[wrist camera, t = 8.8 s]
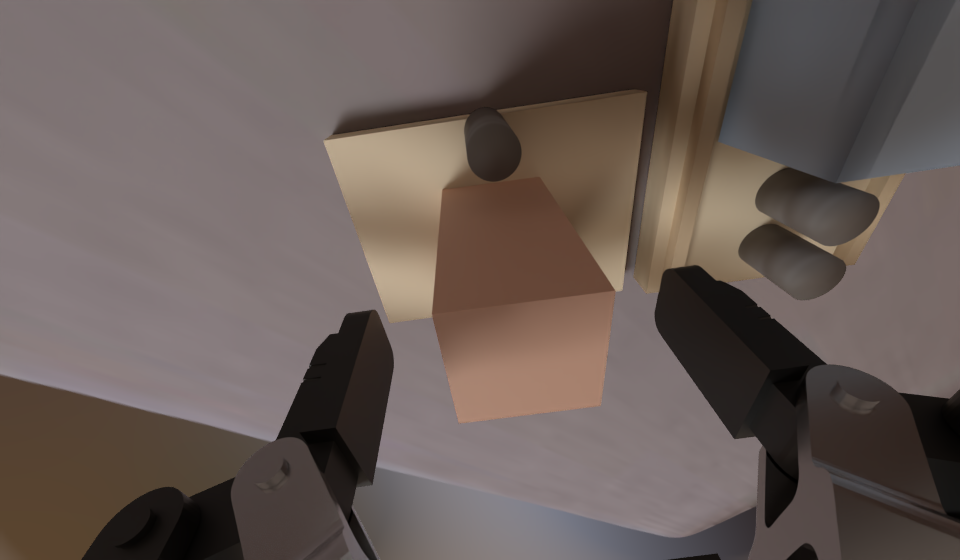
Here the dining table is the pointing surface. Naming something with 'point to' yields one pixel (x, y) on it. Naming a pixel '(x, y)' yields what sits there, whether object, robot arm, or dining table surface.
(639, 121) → the pin seat
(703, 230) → the base
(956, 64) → the cover
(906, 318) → the dining table surface
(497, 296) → the block
